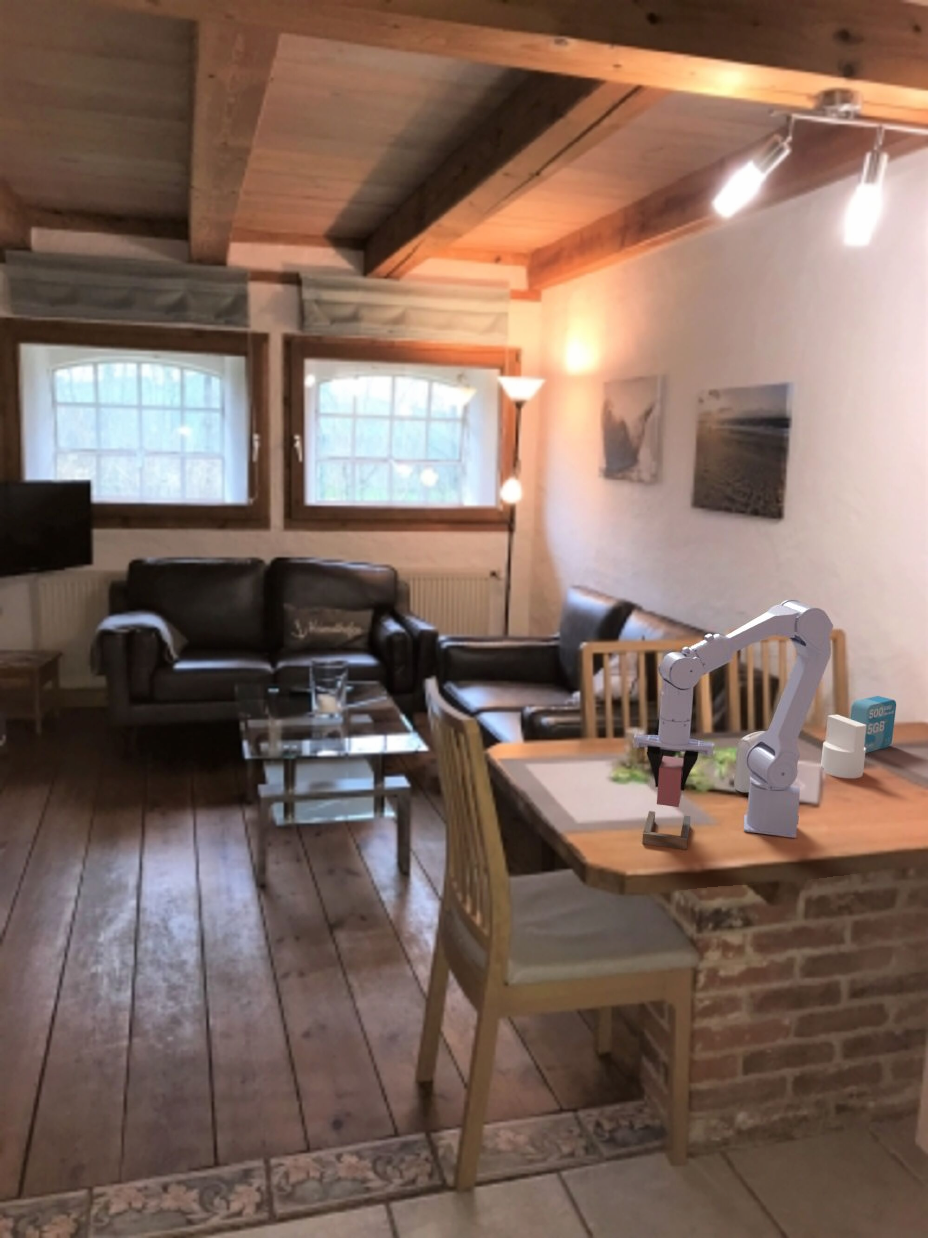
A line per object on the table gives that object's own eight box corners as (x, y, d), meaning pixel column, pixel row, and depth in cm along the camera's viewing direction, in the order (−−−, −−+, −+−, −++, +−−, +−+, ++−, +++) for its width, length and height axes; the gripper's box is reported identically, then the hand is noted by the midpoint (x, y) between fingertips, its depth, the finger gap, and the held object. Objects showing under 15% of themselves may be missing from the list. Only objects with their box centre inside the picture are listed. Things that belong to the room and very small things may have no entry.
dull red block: (681, 793, 193) (684, 758, 192) (678, 807, 185) (681, 770, 184) (660, 790, 194) (663, 755, 193) (656, 804, 186) (659, 768, 185)
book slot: (689, 826, 193) (690, 816, 193) (685, 849, 183) (686, 839, 182) (648, 820, 196) (649, 811, 195) (642, 843, 185) (642, 833, 184)
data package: (862, 754, 240) (868, 705, 238) (846, 749, 244) (851, 701, 241) (891, 746, 247) (897, 699, 244) (875, 741, 250) (880, 694, 248)
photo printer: (762, 780, 220) (767, 726, 218) (778, 786, 216) (783, 731, 214) (730, 788, 214) (735, 733, 212) (745, 795, 211) (750, 738, 208)
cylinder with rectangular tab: (812, 767, 229) (817, 716, 227) (841, 762, 233) (846, 713, 231) (841, 780, 222) (847, 728, 219) (871, 775, 225) (877, 724, 223)
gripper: (716, 716, 188) (710, 785, 191) (638, 707, 192) (633, 775, 194) (714, 726, 181) (708, 797, 184) (634, 717, 185) (629, 787, 188)
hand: (670, 787), depth 189 cm, fingers closed on dull red block, 4 cm apart
